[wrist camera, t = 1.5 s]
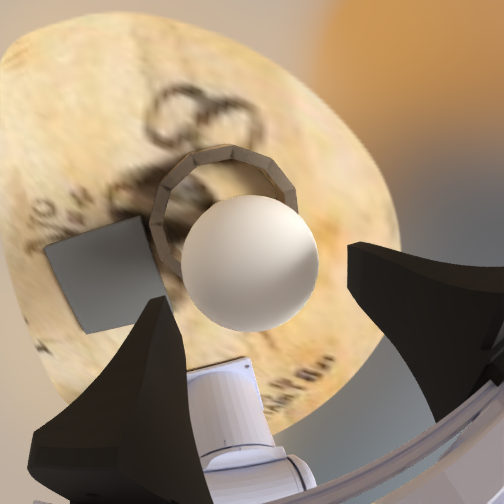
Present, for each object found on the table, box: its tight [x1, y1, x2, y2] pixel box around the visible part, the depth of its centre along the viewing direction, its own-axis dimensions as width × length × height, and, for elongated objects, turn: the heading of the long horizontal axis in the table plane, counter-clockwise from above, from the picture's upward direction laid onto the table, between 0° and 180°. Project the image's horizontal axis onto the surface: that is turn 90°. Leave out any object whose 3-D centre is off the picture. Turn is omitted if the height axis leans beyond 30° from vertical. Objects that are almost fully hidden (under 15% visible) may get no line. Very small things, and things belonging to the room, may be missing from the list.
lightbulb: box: [181, 195, 319, 332], centre depth 15 cm, size 6×6×11 cm
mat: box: [44, 215, 173, 334], centre depth 19 cm, size 8×8×1 cm
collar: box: [149, 144, 299, 280], centre depth 19 cm, size 10×10×2 cm
